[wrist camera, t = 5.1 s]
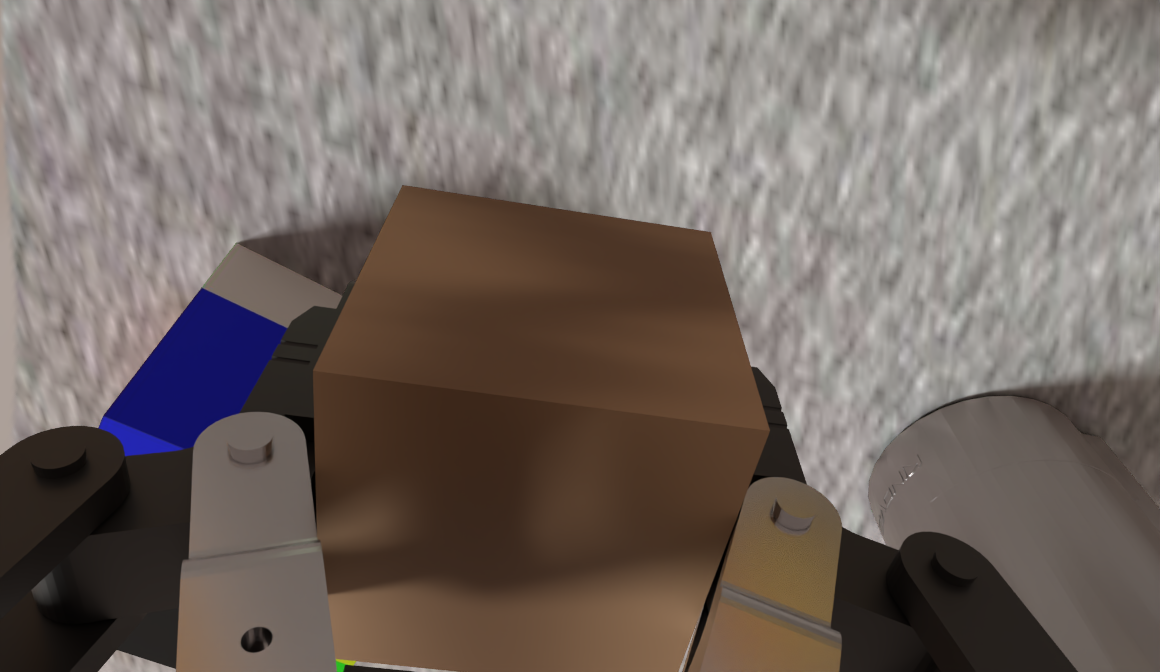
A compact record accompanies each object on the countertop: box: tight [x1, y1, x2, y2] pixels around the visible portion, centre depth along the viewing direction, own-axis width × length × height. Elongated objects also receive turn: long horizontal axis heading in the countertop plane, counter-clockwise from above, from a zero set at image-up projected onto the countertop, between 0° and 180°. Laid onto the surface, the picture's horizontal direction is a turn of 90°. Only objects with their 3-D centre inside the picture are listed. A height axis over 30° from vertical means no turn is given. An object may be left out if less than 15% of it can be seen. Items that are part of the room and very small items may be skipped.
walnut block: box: [313, 185, 770, 672], centre depth 12 cm, size 5×5×5 cm
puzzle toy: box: [99, 243, 356, 672], centre depth 29 cm, size 10×10×10 cm
